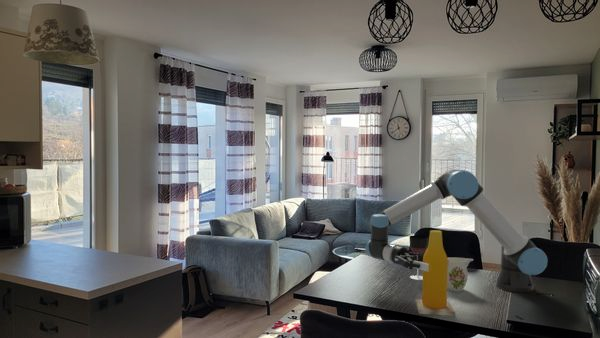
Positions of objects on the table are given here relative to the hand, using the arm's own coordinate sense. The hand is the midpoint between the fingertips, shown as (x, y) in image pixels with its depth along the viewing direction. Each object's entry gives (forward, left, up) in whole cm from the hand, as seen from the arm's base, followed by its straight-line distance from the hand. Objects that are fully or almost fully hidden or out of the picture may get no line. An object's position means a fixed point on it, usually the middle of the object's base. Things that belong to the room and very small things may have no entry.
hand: (439, 265), depth 165 cm
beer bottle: (+1, -1, -16) cm, 16 cm away
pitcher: (-11, -29, -18) cm, 36 cm away
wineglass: (+2, -45, -18) cm, 49 cm away
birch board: (+1, -1, -18) cm, 18 cm away
